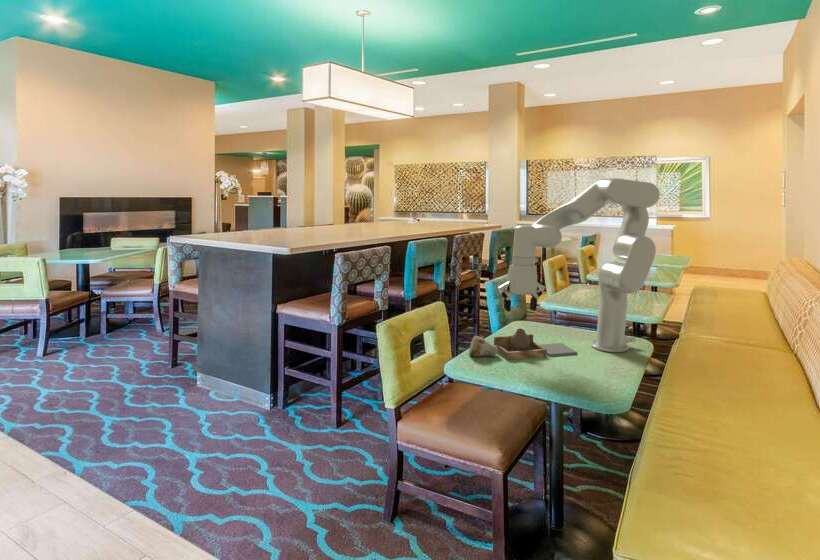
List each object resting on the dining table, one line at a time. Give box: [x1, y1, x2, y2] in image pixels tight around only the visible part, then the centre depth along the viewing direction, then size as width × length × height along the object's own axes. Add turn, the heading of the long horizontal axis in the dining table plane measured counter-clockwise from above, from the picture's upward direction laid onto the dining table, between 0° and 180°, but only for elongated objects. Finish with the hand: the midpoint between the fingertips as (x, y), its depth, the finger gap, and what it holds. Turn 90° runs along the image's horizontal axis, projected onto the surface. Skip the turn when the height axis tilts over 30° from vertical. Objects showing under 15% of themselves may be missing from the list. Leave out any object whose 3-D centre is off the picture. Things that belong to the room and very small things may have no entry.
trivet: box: [539, 342, 578, 357], centre depth 190 cm, size 11×11×1 cm
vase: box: [510, 328, 531, 352], centre depth 186 cm, size 7×7×9 cm
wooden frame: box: [493, 333, 548, 361], centre depth 186 cm, size 15×11×5 cm
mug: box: [468, 335, 498, 358], centre depth 183 cm, size 8×10×10 cm
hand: (520, 310), depth 183 cm, fingers open, 9 cm apart
